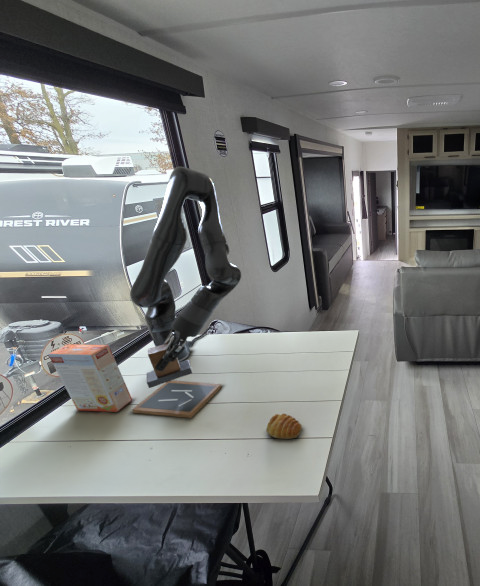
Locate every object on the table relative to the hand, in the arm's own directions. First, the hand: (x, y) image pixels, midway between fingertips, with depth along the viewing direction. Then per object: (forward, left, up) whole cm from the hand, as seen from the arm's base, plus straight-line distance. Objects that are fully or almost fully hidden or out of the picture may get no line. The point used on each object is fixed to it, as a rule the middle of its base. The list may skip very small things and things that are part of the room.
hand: (158, 365), depth 92 cm
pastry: (+6, +41, -14) cm, 44 cm away
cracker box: (+3, -21, -14) cm, 26 cm away
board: (-2, +1, -14) cm, 14 cm away
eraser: (-1, +1, -5) cm, 5 cm away
